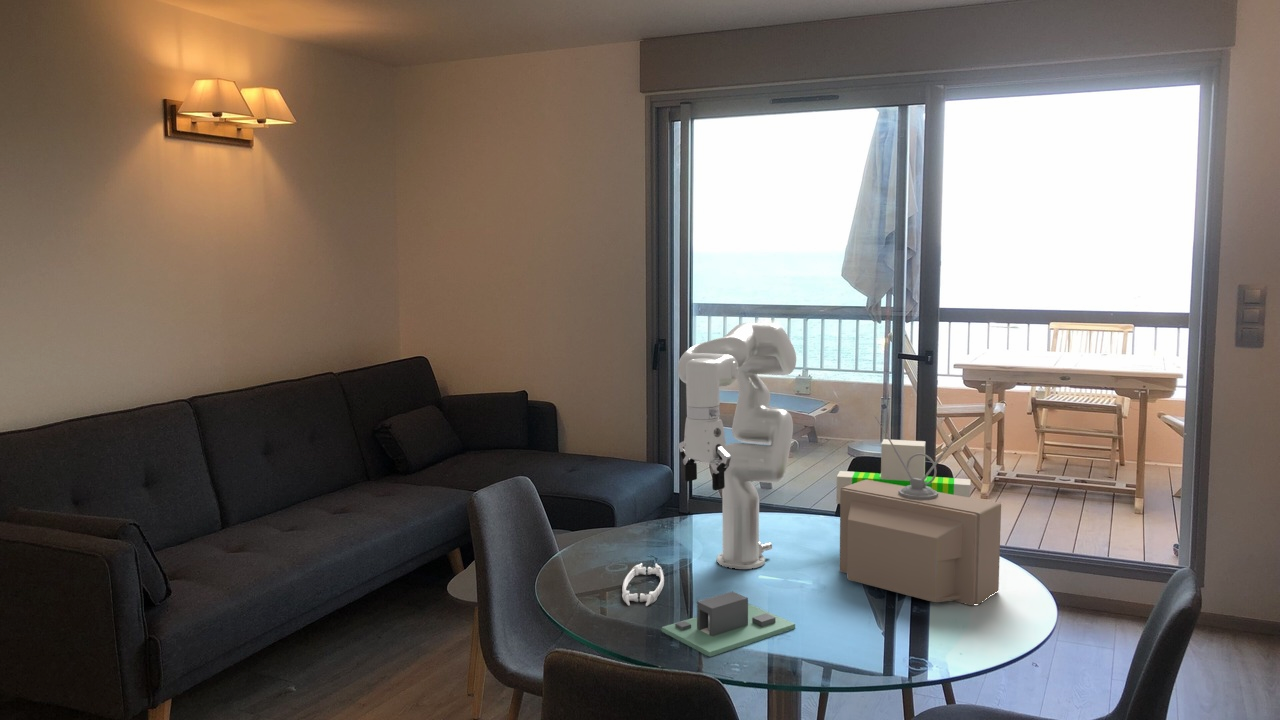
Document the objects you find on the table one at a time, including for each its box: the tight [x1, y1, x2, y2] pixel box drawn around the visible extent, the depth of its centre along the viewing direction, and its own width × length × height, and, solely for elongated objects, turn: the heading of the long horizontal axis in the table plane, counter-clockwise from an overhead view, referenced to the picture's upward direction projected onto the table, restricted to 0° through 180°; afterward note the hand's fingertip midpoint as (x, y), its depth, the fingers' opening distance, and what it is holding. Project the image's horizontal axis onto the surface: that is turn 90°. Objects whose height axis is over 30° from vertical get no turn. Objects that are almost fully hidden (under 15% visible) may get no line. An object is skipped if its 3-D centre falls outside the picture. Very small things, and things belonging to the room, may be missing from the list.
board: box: [661, 603, 796, 658], centre depth 201 cm, size 24×16×3 cm, turn 126°
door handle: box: [621, 562, 665, 607], centre depth 227 cm, size 3×10×25 cm
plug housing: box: [696, 591, 749, 636], centre depth 199 cm, size 10×5×6 cm, turn 126°
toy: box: [835, 438, 972, 505], centre depth 250 cm, size 34×7×30 cm, turn 71°
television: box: [839, 416, 1002, 606], centre depth 225 cm, size 36×20×40 cm, turn 46°
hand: (704, 484), depth 217 cm, fingers open, 9 cm apart
